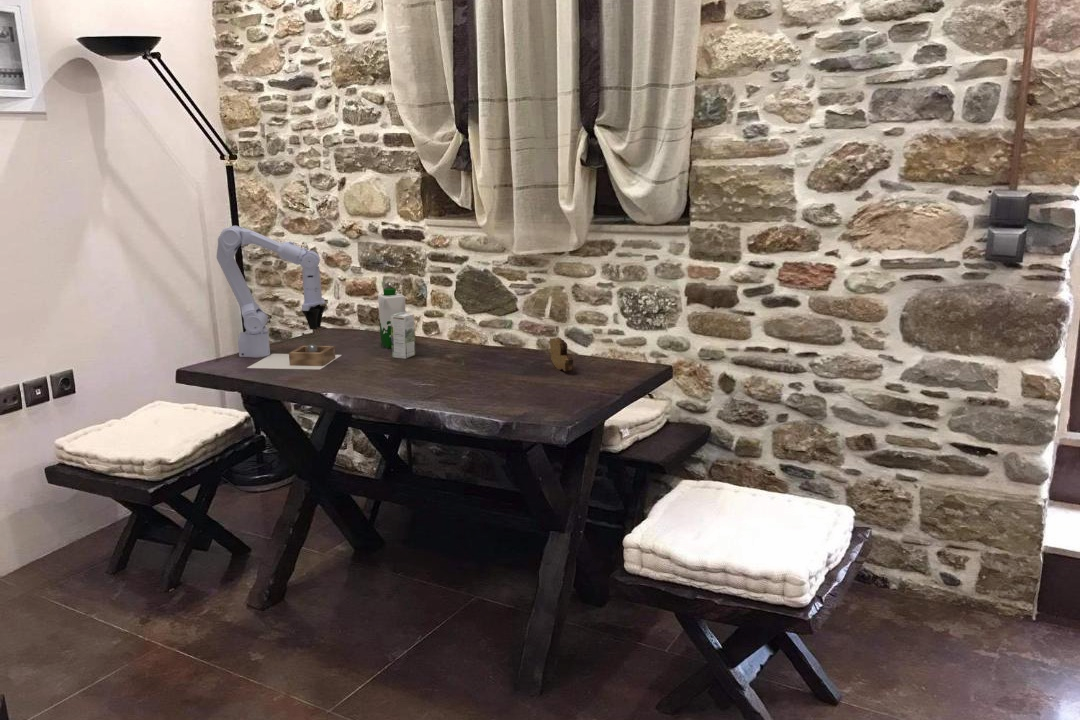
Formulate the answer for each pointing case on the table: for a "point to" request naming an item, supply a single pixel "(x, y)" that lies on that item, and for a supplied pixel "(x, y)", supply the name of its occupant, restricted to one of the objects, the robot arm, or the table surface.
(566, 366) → the wooden carving
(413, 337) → the syrup box
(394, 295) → the milk carton
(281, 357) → the post board
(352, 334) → the table surface
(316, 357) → the square collar
